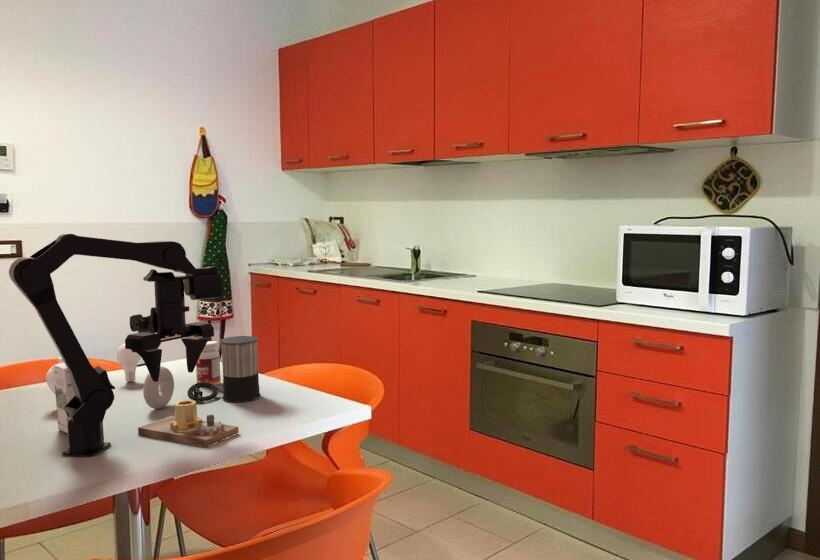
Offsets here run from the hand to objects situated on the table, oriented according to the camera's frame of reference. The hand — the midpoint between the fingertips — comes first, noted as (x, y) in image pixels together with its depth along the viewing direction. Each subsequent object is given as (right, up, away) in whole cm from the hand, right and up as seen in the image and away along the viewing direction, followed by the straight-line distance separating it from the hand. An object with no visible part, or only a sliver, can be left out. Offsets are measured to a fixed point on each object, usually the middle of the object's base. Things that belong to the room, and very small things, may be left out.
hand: (173, 376), depth 142 cm
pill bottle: (-5, -8, +42) cm, 43 cm away
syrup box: (-22, -12, +4) cm, 25 cm away
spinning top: (-34, -11, +23) cm, 42 cm away
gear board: (+3, -12, 0) cm, 12 cm away
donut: (-10, -10, +20) cm, 24 cm away
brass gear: (+3, -10, 0) cm, 11 cm away
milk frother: (+3, -10, +27) cm, 29 cm away
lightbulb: (-28, -8, +46) cm, 54 cm away
